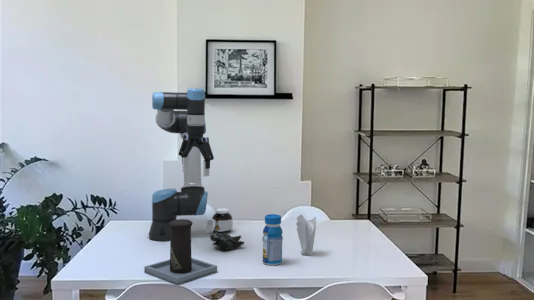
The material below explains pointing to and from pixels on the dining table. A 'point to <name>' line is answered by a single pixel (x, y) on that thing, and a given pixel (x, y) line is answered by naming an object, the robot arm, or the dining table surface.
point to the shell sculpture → (306, 234)
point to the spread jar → (220, 222)
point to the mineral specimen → (226, 241)
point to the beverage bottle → (272, 240)
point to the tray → (164, 273)
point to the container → (180, 246)
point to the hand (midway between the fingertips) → (195, 174)
